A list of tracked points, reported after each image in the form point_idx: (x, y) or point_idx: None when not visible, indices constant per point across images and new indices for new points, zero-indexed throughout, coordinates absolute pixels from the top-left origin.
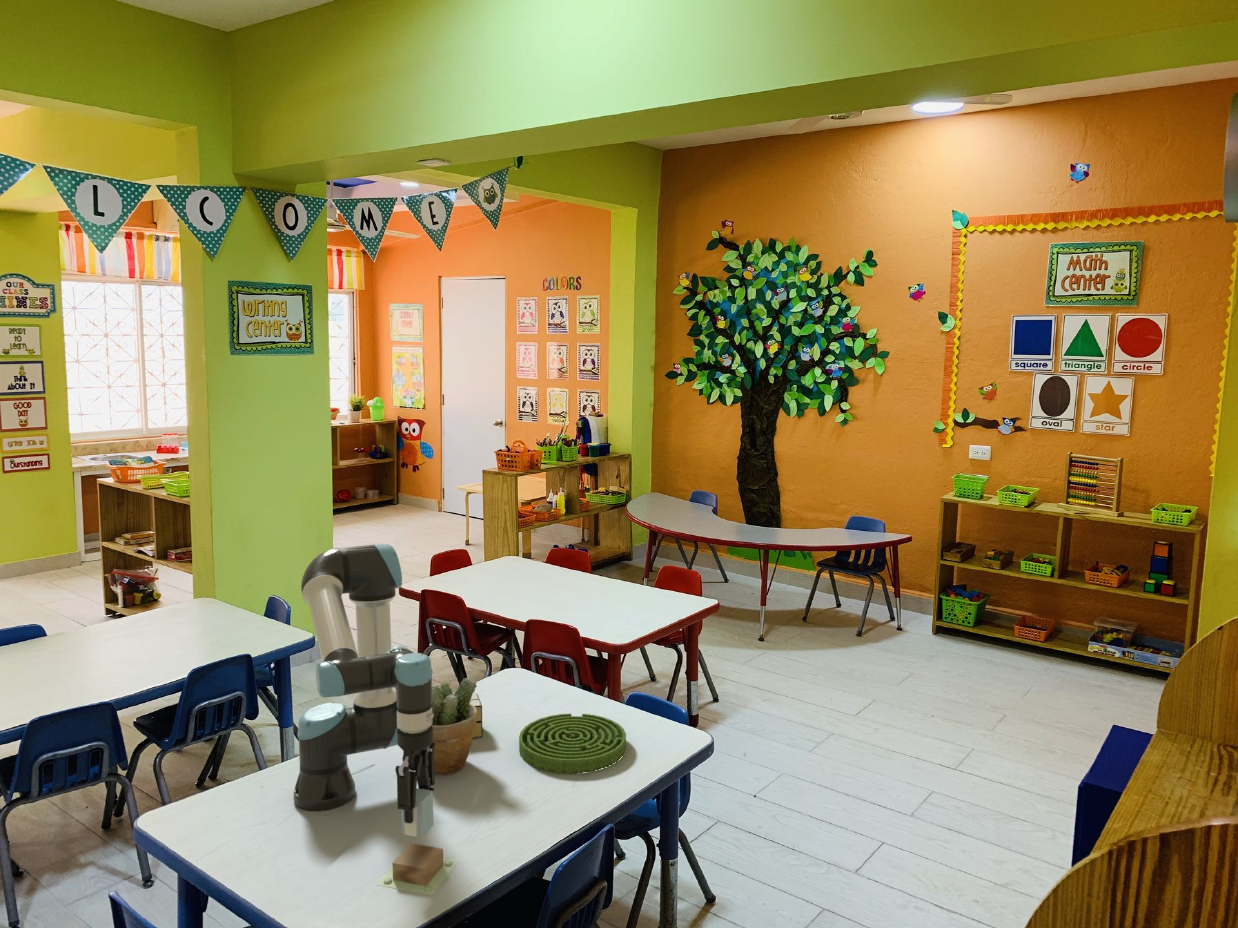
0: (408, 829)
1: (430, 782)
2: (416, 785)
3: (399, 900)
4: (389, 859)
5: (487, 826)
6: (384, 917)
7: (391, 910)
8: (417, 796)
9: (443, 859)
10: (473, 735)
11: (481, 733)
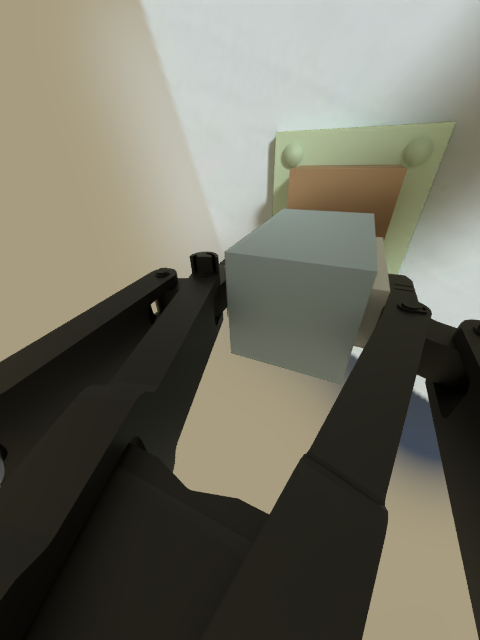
0: None
1: (432, 380)
2: (195, 389)
3: (256, 209)
4: (431, 68)
5: None
6: (209, 205)
7: (228, 208)
8: (267, 329)
9: (399, 253)
10: None
11: None
